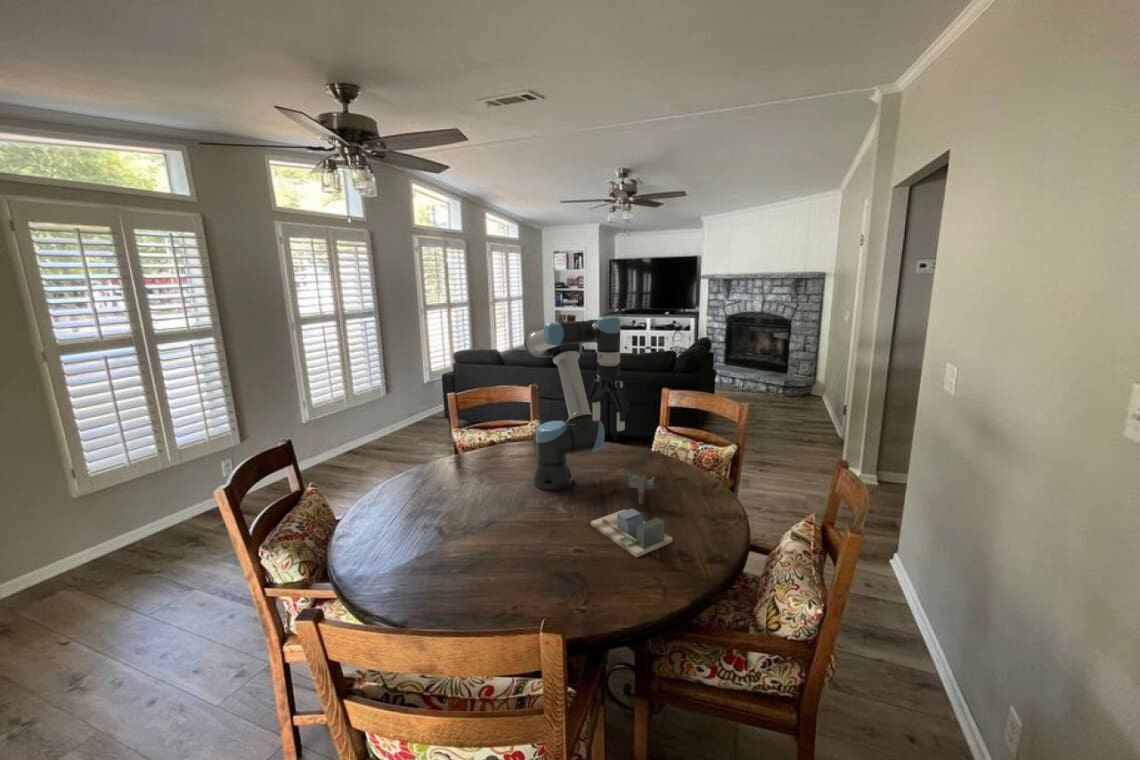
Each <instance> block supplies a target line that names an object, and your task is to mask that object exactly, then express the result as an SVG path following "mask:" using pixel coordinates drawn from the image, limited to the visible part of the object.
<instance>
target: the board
mask: <svg viewBox="0 0 1140 760" xmlns="http://www.w3.org/2000/svg"><path fill="white" fill-rule="evenodd" d="M627 510H628V509H621V510H618V511H617V512H616V511H615V512H613V513H611V514H608V515H604V516H602V517H599V518H597V519H593V520H591V521H590V526H592V527H593V528H595V529H596V530H597V531H599V532H600V533H601V534H603V535H604V536H606V537H607V538H609V539H610V540H611V541H613V542H614V543H616V544H617V545H618V546H620V547H621V548H623V549H624V550H626V551H627V552H628V553H629V554H631V555H633V556H634V557H635V558H638V557H641V556H643V555H646V554H648V553H650V552H652V551H656V550H657V549H659V548H662V547H664V546H666V545H668V544H671V543H673V537H671V536H670V535H668V534H666V533H665V532H664V541H662V542H659V543H657V544H655V545H652V546H650V547H648V548H645V549H642V548H641V547H639V546H638V545H637V544H636V542H637V532H636V533H633V534H631V535H629V534H627V533H626V532H624V531H623V530H621V529H620V528H618V527H617V514H618V513H621V512H624V511H627ZM645 522H646V521H644V520H643V523H645Z"/></svg>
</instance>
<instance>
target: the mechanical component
mask: <svg viewBox="0 0 1140 760" xmlns="http://www.w3.org/2000/svg"><path fill="white" fill-rule="evenodd" d="M625 480H626V481H628V486H629V487H630V488H637V490H636V491H637V492H638V504H639V505H643V504H644V493H645V492H646V490H645V489H647V490H652V489H654V487H655V486H654V485H655V483H657V477H654V476H651V478H650V479H647V478H646V475H645V474H635V473H629V474H628V475H626V476H625Z"/></svg>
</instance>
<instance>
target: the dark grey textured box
mask: <svg viewBox="0 0 1140 760" xmlns="http://www.w3.org/2000/svg"><path fill="white" fill-rule="evenodd" d="M664 533H665V521H664V520H662V519H660V518H659V517H655V518H653V519H651V520H648V521H645V523H642V524H640V525H637V542H636V544H637V545H638V546H639V547H641V548H642V549H645V548H648V547H650V546H652V545H655V544H657V543H659V542H662V541H664Z"/></svg>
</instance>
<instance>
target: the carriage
mask: <svg viewBox="0 0 1140 760" xmlns="http://www.w3.org/2000/svg"><path fill="white" fill-rule="evenodd" d="M626 510H627V511H624V512H621V513H618V514H617V527H618V528H620V529H621V530H623V531H624V532H626V533H627V534H629V535H631V534H633V533H636V532H637V525H640V524H642V523H643V521H644V515H645V512H640V511H638V510H636V509H634V508H629V509H626Z"/></svg>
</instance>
